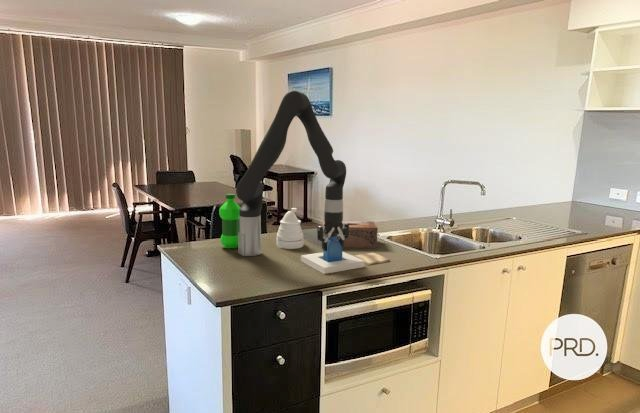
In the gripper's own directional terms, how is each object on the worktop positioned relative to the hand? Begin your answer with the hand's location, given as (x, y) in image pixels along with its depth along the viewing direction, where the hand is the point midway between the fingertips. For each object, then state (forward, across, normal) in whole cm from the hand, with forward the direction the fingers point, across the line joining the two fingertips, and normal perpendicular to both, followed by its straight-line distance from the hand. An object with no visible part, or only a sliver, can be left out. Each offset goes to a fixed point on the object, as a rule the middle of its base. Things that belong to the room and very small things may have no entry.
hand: (332, 249), depth 182 cm
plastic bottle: (+7, +28, -44) cm, 53 cm away
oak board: (+6, -18, +2) cm, 19 cm away
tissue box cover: (+7, -25, -25) cm, 36 cm away
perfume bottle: (+5, 0, 0) cm, 5 cm away
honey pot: (+7, +2, -35) cm, 36 cm away
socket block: (+6, 0, 0) cm, 6 cm away
